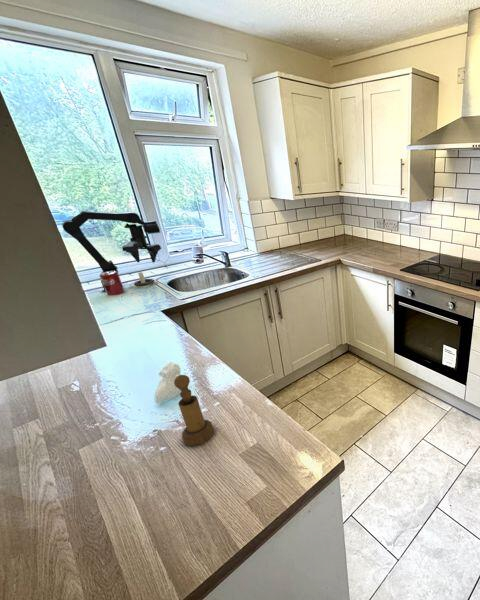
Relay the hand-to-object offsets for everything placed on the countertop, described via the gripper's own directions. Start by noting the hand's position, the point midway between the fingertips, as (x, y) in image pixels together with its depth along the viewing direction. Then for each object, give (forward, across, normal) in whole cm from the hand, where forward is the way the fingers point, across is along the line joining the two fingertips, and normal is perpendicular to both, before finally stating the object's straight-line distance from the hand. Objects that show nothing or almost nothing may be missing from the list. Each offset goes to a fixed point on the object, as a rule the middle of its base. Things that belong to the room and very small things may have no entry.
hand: (146, 262), depth 188 cm
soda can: (+12, -4, -20) cm, 24 cm away
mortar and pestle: (+12, +103, -112) cm, 153 cm away
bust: (+12, +85, -97) cm, 130 cm away
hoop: (+10, +1, -6) cm, 12 cm away
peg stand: (+12, 0, -6) cm, 13 cm away
